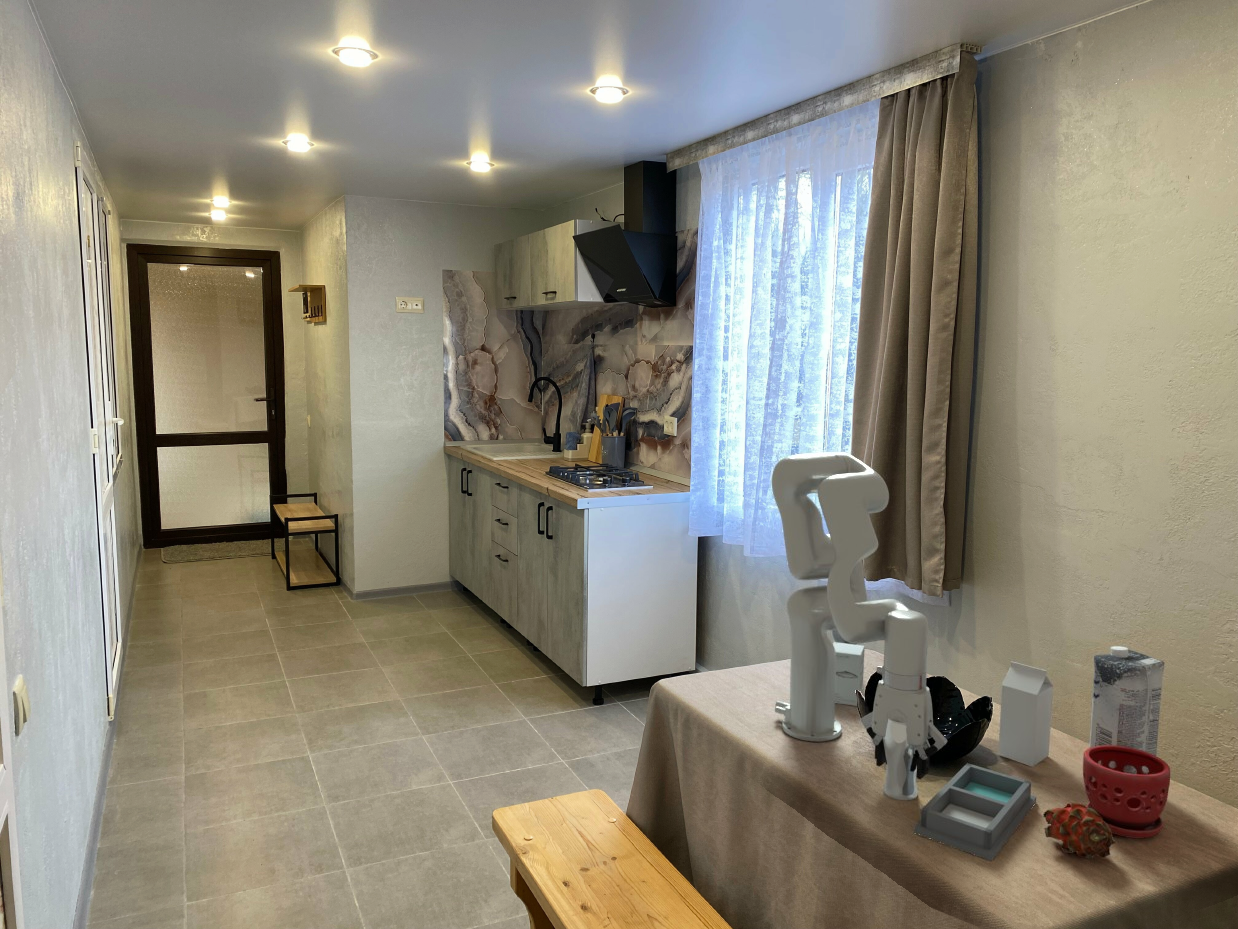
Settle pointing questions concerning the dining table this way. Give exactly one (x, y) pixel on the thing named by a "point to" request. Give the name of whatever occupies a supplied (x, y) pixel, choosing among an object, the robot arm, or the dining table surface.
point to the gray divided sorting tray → (976, 811)
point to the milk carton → (1025, 714)
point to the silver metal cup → (899, 763)
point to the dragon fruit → (1079, 830)
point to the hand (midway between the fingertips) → (901, 769)
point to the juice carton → (1126, 702)
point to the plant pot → (1126, 789)
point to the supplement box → (848, 672)
